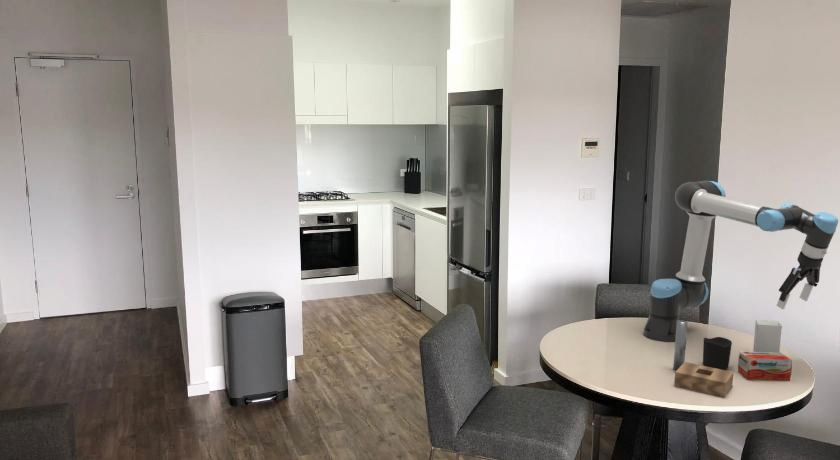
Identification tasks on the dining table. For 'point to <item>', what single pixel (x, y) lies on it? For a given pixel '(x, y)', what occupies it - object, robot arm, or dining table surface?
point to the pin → (680, 344)
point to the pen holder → (716, 352)
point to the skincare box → (767, 336)
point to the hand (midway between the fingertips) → (791, 303)
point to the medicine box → (765, 366)
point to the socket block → (704, 379)
